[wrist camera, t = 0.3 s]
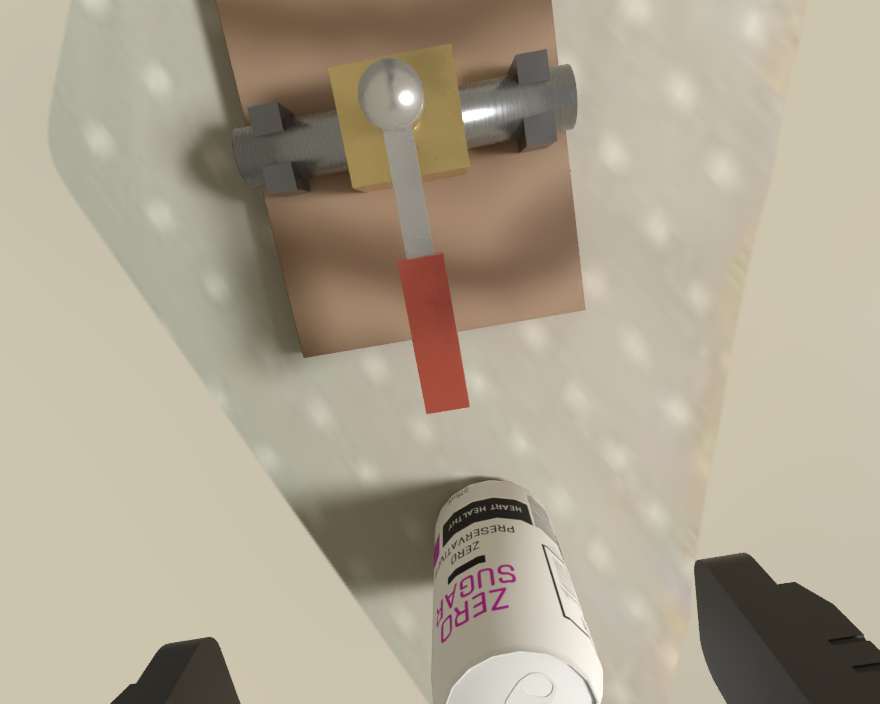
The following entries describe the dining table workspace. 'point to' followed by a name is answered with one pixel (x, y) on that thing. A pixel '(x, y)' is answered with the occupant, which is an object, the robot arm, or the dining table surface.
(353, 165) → the pipe valve
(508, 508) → the supplement can
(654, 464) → the dining table surface
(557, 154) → the valve board
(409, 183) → the valve lever
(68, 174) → the dining table surface
